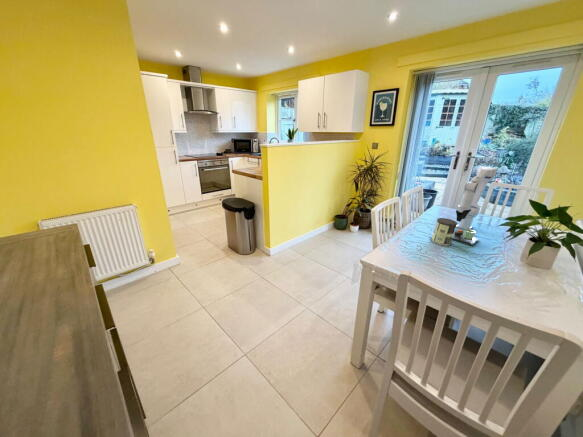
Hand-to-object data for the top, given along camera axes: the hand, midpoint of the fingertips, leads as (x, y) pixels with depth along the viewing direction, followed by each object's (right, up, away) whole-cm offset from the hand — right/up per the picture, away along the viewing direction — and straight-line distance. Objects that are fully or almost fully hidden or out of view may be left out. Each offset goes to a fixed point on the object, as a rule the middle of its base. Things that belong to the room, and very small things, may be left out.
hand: (460, 219), depth 152 cm
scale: (-3, -13, -7) cm, 15 cm away
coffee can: (-20, -14, -10) cm, 26 cm away
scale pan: (-3, -11, -10) cm, 16 cm away
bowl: (-3, -11, -11) cm, 15 cm away
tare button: (-2, -8, -2) cm, 9 cm away
